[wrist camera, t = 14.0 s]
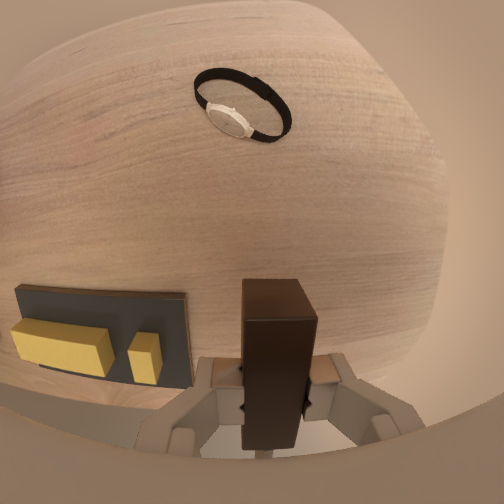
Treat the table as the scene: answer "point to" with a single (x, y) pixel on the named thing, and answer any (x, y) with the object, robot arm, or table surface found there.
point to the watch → (228, 116)
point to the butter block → (64, 346)
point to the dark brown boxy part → (274, 361)
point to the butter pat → (145, 357)
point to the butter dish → (120, 326)
